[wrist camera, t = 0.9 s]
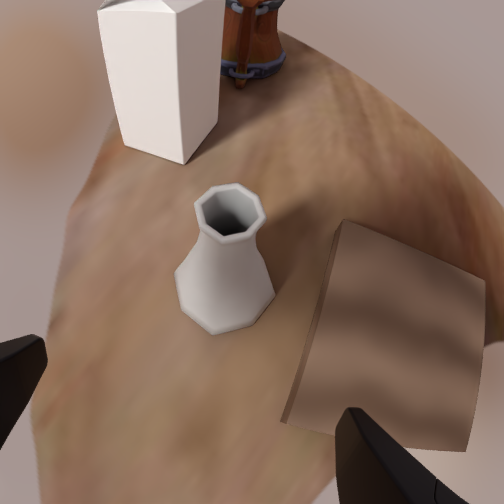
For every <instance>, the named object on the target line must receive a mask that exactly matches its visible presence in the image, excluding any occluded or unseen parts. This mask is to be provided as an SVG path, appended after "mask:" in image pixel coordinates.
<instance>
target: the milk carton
mask: <svg viewBox="0 0 504 504" xmlns="http://www.w3.org/2000/svg"><path fill="white" fill-rule="evenodd" d="M225 1H226V0H105V2H104V3H103V4H102V5H101V7H100V8H99V9H98V10H97V12H98V20H99V27H100V34H101V40H102V45H103V51H104V56H105V62H106V67H107V72H108V77H109V82H110V86H111V91H112V95H113V100H114V104H115V108H116V113H117V117H118V121H119V125H120V129H121V133H122V137H123V141H124V144H125V145H126V146H129V147H132V148H135V149H138V150H141V151H144V152H147V153H151V154H154V155H157V156H159V157H162V158H165V159H168V160H171V161H174V162H177V163H180V164H183V165H184V164H185V163H186V162H187V161H188V160H189V158H190V157H191V156H192V154H193V153H194V152H195V150H196V149H197V148H198V146H199V145H200V144H201V142H202V141H203V140H204V139H205V137H206V136H207V135H208V134H209V132H210V131H211V130H212V128H213V127H214V126H215V125H216V123H217V121H218V103H219V84H220V68H221V52H222V38H223V25H224V13H225Z"/></svg>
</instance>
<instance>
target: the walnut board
mask: <svg viewBox="0 0 504 504" xmlns="http://www.w3.org/2000/svg"><path fill="white" fill-rule="evenodd" d="M484 333H485V281H484V280H482V279H480V278H478V277H476V276H474V275H472V274H470V273H468V272H466V271H463V270H461V269H459V268H457V267H455V266H453V265H451V264H448V263H446V262H444V261H442V260H440V259H438V258H435V257H433V256H431V255H429V254H426V253H424V252H422V251H420V250H417V249H415V248H413V247H411V246H408V245H406V244H404V243H401V242H399V241H397V240H394V239H392V238H389V237H387V236H385V235H382V234H380V233H377V232H375V231H373V230H370V229H368V228H365V227H363V226H360V225H358V224H355V223H353V222H350V221H348V220H345V219H343V220H342V222H341V224H340V225H339V227H338V228H337V230H336V231H335V235H334V240H333V244H332V248H331V252H330V256H329V260H328V264H327V268H326V272H325V276H324V280H323V284H322V288H321V292H320V295H319V299H318V303H317V306H316V310H315V313H314V317H313V320H312V324H311V327H310V331H309V334H308V338H307V341H306V344H305V348H304V351H303V354H302V357H301V361H300V364H299V367H298V370H297V373H296V376H295V379H294V383H293V386H292V389H291V392H290V395H289V398H288V400H287V403H286V406H285V409H284V412H283V415H282V418H281V421H280V422H283V423H286V424H289V425H293V426H296V427H300V428H304V429H308V430H312V431H316V432H321V433H325V434H329V435H334V436H335V429H336V426H337V424H338V422H339V420H340V418H341V416H342V414H343V412H344V411H345V409H346V408H347V407H359V408H362V409H363V410H364V411H365V412H366V413H367V414H368V415H369V416H370V417H371V418H372V419H373V420H374V421H375V422H376V423H378V424H379V425H380V426H381V427H382V428H383V429H384V430H385V431H386V432H387V433H388V434H389V435H390V436H391V437H392V438H394V439H395V440H396V441H397V442H398V443H399V444H400V445H401V446H402V447H406V448H416V449H425V450H438V451H455V452H466V448H467V445H468V441H469V436H470V432H471V428H472V423H473V418H474V413H475V408H476V403H477V397H478V391H479V384H480V377H481V368H482V359H483V348H484Z"/></svg>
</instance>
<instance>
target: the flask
mask: <svg viewBox="0 0 504 504" xmlns="http://www.w3.org/2000/svg"><path fill="white" fill-rule="evenodd" d="M194 207H195V211H196V216H197V220H198V224H199V228H200V234H199V237H198V240H197V243H196V244H195V246H194V247H193V248H192V250H191V251H190V253H189V254H188V256H187V257H186V258H185V260H184V261H183V262H182V263H181V265H180V266H179V267H178V268H177V269H176V271H175V272H174V278H175V283H176V288H177V293H178V297H179V302H180V307H181V310H182V311H183V312H184V313H185V314H187V315H188V316H189V317H190V318H192V319H193V320H194V321H195V322H196V323H198V324H199V325H200V326H201V327H203V328H204V329H205V330H206V331H208V332H209V333H210V334H211V335H217V334H221V333H225V332H229V331H233V330H237V329H241V328H245V327H249V326H252V325H253V324H254V323H255V322H256V320H257V319H258V318H259V316H260V315H261V314H262V313H263V311H264V310H265V309H266V307H267V306H268V305H269V304H270V302H271V301H272V300H273V298H274V297H275V296H276V295H275V292H274V289H273V286H272V283H271V280H270V277H269V274H268V271H267V268H266V265H265V262H264V260H263V258H262V256H261V254H260V253H259V251H258V249H257V247H256V239H255V237H256V233H257V231H258V230H259V228H260V227H261V226H262V225H263V224H264V223H265V222H266V220H267V217H266V214H265V211H264V209H263V206H262V203H261V200H260V198H259V196H258V195H257V194H255V193H254V192H252V191H251V190H249V189H248V188H246V187H245V186H243V185H242V184H240V183H239V182H235V183H229V184H223V185H217V186H212V187H211V188H210V189H209V190H208V191H207V192H205V193H204V194H203V195H202V196H201V197H200V198H199V199H198V200H197V201H196V202H195V203H194Z"/></svg>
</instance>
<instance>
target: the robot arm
mask: <svg viewBox="0 0 504 504" xmlns="http://www.w3.org/2000/svg"><path fill="white" fill-rule="evenodd" d="M47 363H48V358H47V353H46V347H45V342H44V340H43V338H41V337H39V336H37V335H34V334H30V335H27V336H23V337H20V338H16V339H13V340H10V341H6V342H2V343H0V450H1V448H2V446H3V444H4V443H5V441H6V439H7V437H8V436H9V434H10V432H11V430H12V429H13V427H14V425H15V424H16V422H17V420H18V419H19V417H20V415H21V414H22V412H23V411H24V409H25V407H26V405H27V404H28V402H29V400H30V398H31V396H32V394H33V392H34V390H35V388H36V386H37V384H38V382H39V380H40V378H41V376H42V374H43V373H44V371H45V369H46V367H47ZM335 452H336V480H337V487H338V495H339V502H340V504H469V503H467V502H466V501H465V500H463V499H462V498H460V497H459V496H458V495H457V494H455V493H454V492H453V491H452V490H450V489H449V488H448V487H447V486H446V485H445V484H443V483H442V482H441V481H440V480H439V479H436V477H435V476H434V475H433V474H432V473H431V472H430V471H429V470H428V469H426V468H425V467H424V466H423V465H422V464H421V463H420V462H419V461H418V460H416V459H415V458H414V457H413V456H412V455H411V454H410V453H409V452H408V451H407V450H405V449H404V448H403V447H402V446H401V445H400V444H399V443H398V442H397V441H396V440H395V439H394V438H392V437H391V436H390V435H389V434H388V433H387V432H386V431H385V430H384V429H383V428H382V427H381V426H380V425H379V424H378V423H376V422H375V421H374V420H373V419H372V418H371V417H370V416H369V415H368V414H367V413H366V412H365V411H364V410H363V409H362V408H359V407H347V408H346V409H345V411H344V412H343V414H342V416H341V418H340V420H339V422H338V424H337V426H336V429H335Z"/></svg>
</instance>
